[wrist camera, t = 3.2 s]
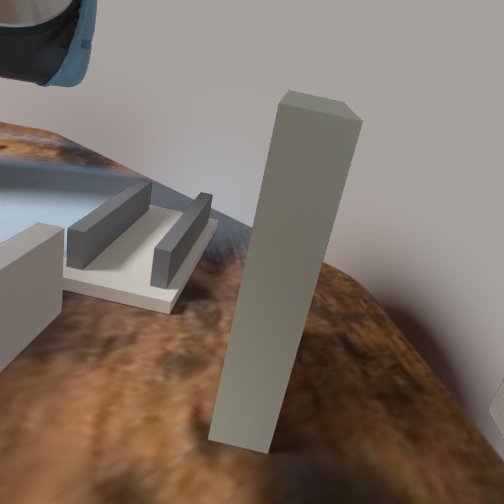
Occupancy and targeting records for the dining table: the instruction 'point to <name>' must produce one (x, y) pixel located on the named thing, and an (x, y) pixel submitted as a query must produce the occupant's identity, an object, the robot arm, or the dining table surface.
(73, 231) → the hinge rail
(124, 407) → the dining table surface
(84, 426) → the dining table surface
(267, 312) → the door
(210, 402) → the dining table surface
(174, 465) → the dining table surface
